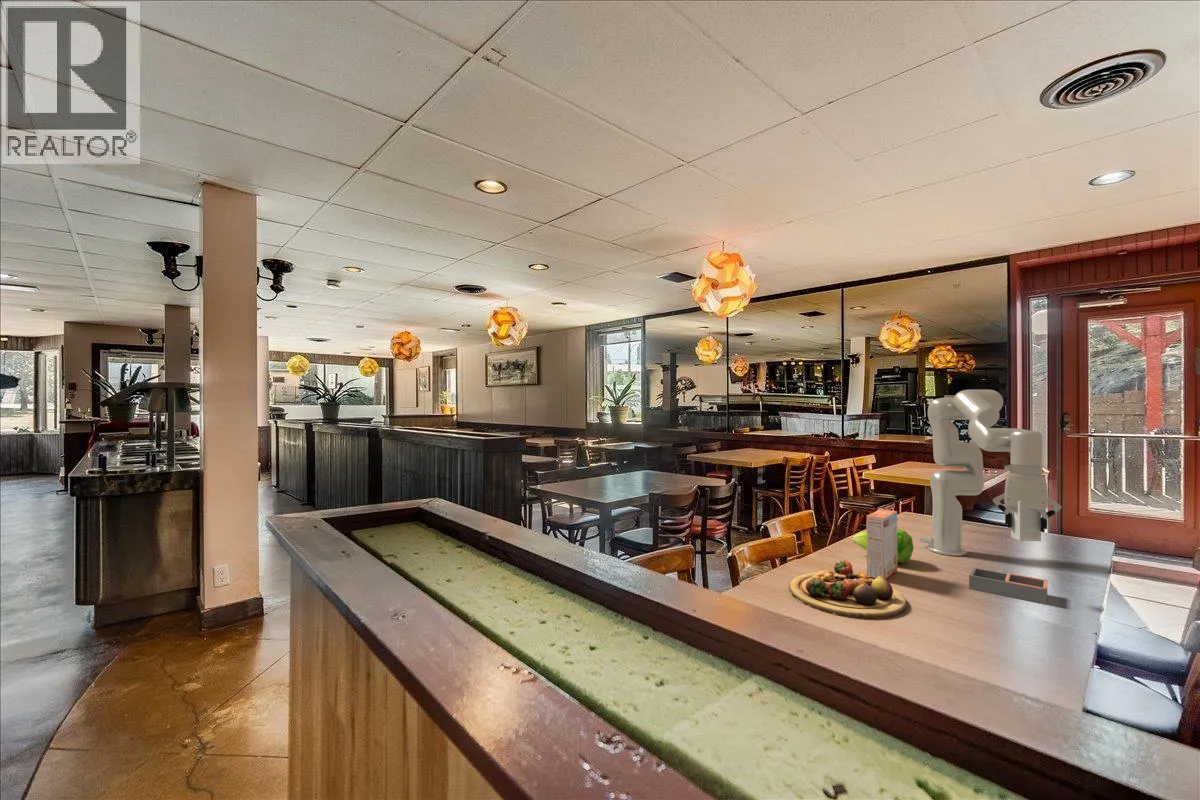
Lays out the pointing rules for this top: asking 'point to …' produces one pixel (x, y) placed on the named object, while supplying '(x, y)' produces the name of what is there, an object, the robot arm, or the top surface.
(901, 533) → the lettuce
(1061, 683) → the top surface
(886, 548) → the cracker box
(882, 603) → the wooden plate with food
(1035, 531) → the skincare box
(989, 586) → the box
